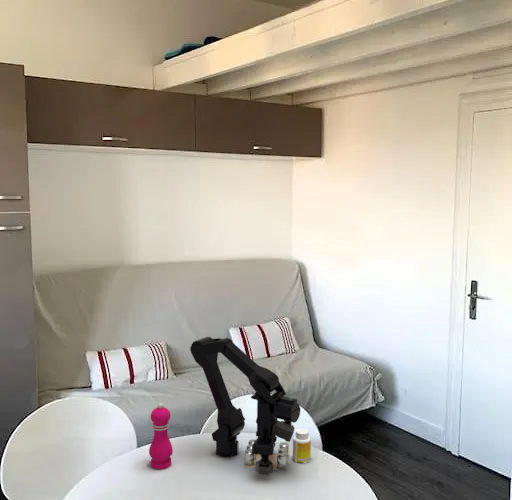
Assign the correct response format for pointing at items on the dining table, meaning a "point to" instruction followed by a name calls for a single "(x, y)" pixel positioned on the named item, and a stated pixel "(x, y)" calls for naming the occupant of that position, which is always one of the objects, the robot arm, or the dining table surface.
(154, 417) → the pepper mill
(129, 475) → the dining table surface
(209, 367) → the robot arm
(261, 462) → the nut
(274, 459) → the board
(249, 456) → the spacers
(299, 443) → the supplement bottle
